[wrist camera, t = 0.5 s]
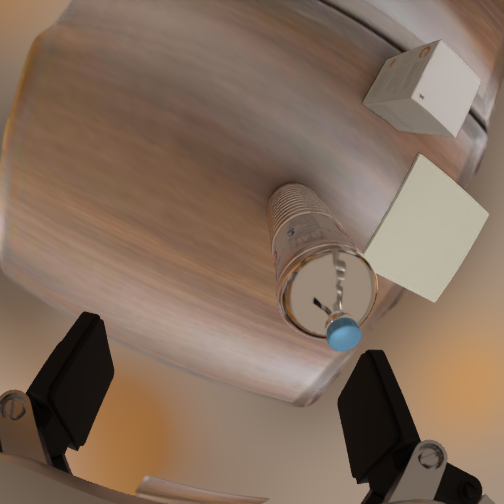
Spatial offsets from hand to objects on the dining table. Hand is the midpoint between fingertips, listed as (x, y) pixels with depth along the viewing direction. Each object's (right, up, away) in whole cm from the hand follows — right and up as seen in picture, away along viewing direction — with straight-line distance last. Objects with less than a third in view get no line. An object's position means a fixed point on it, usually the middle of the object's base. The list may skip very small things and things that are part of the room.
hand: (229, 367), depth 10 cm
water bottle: (+6, +10, +28) cm, 30 cm away
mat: (+28, +6, +29) cm, 40 cm away
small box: (+19, +24, +21) cm, 37 cm away
